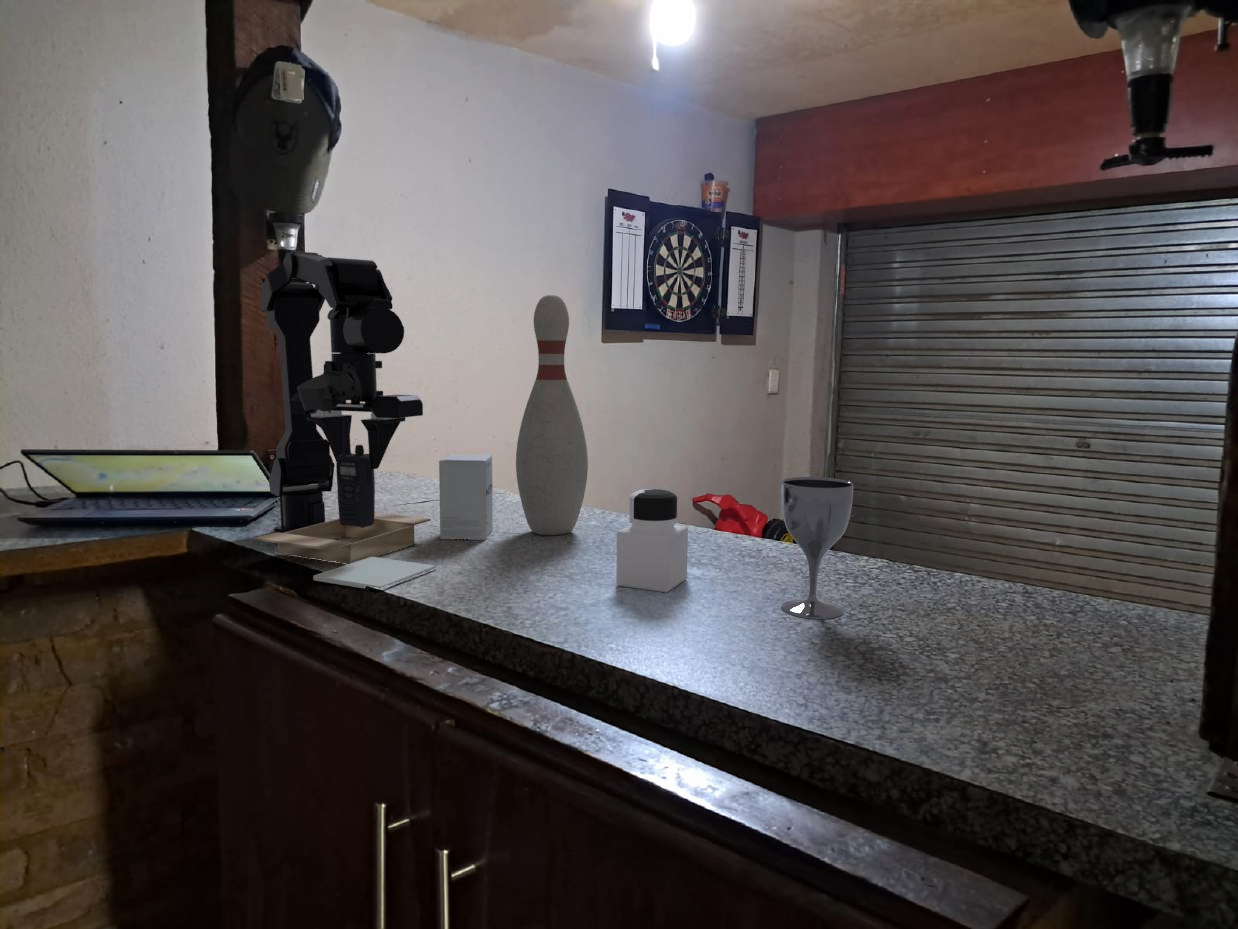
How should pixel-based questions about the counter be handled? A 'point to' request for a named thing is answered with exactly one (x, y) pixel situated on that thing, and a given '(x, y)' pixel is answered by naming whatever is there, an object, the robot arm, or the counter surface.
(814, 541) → the wine glass
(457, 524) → the supplement box
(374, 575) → the mat
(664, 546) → the medicine bottle
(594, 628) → the counter surface
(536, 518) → the bowling pin
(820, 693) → the counter surface
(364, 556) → the carton
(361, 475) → the two-way radio
